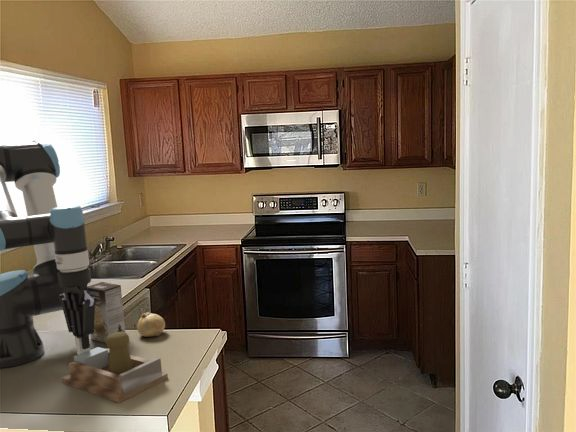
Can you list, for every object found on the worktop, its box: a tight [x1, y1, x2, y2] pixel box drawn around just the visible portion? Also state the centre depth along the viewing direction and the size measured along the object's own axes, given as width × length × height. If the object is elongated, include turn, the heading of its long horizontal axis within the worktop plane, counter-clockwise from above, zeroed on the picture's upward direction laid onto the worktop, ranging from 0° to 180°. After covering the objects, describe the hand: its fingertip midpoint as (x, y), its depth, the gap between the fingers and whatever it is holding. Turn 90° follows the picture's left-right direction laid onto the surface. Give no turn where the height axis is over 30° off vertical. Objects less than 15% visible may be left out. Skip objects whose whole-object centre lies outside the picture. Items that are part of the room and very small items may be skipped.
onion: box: [136, 311, 166, 338], centre depth 162 cm, size 8×8×7 cm
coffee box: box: [87, 281, 126, 344], centre depth 160 cm, size 9×6×16 cm
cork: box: [105, 331, 133, 375], centre depth 129 cm, size 6×6×11 cm
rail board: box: [61, 347, 169, 404], centre depth 131 cm, size 22×14×6 cm, turn 54°
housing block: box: [73, 346, 109, 369], centre depth 136 cm, size 4×7×4 cm, turn 144°
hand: (84, 360), depth 137 cm, fingers closed
